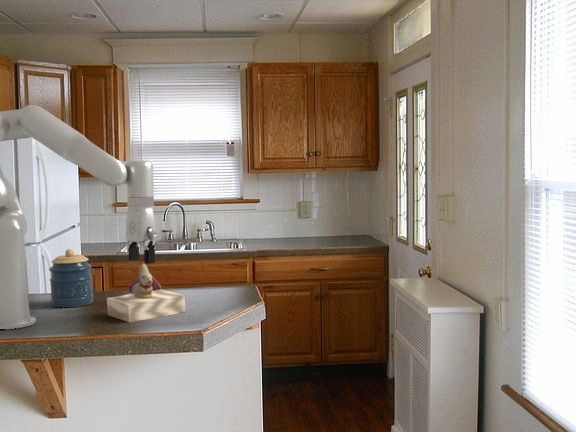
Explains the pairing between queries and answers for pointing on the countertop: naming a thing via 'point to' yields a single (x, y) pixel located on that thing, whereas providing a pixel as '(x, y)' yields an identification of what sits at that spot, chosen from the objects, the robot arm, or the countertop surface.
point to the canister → (71, 281)
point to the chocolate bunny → (144, 284)
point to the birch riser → (146, 306)
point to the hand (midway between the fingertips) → (141, 261)
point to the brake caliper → (134, 282)
